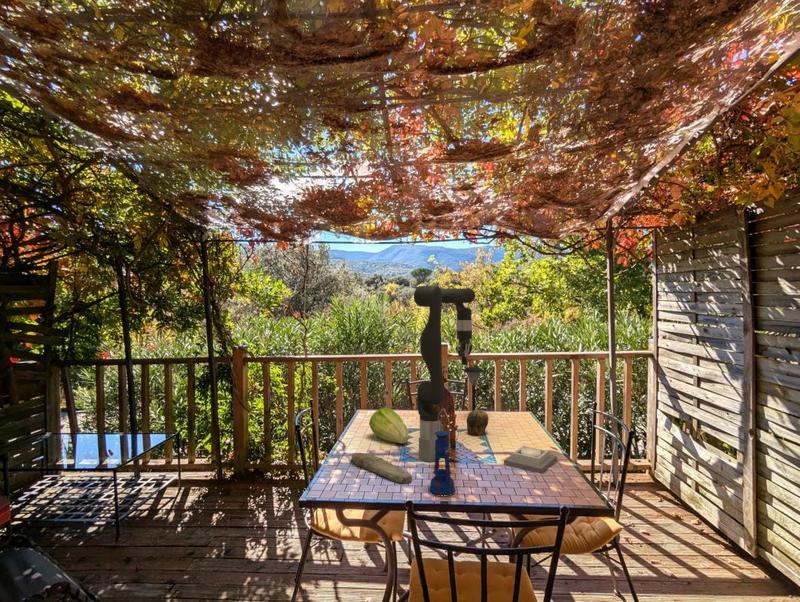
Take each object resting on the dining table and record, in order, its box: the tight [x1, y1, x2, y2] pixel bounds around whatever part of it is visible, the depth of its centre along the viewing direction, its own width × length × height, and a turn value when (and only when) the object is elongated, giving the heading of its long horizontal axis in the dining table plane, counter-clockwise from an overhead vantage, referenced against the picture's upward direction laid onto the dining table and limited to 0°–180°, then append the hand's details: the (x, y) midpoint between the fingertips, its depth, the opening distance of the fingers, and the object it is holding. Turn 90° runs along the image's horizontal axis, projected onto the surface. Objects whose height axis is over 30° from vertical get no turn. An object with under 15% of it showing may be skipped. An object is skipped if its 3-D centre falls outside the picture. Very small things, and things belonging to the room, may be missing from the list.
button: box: [521, 446, 541, 458], centre depth 193 cm, size 8×8×3 cm
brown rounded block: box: [466, 409, 489, 437], centre depth 233 cm, size 11×11×12 cm
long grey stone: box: [350, 452, 413, 485], centre depth 185 cm, size 35×5×10 cm
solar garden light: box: [462, 366, 485, 411], centre depth 256 cm, size 12×12×30 cm
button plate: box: [503, 445, 558, 474], centre depth 193 cm, size 18×16×4 cm
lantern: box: [428, 408, 456, 497], centre depth 165 cm, size 11×9×30 cm
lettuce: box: [368, 406, 409, 444], centre depth 224 cm, size 15×24×16 cm
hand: (464, 364), depth 222 cm, fingers closed
